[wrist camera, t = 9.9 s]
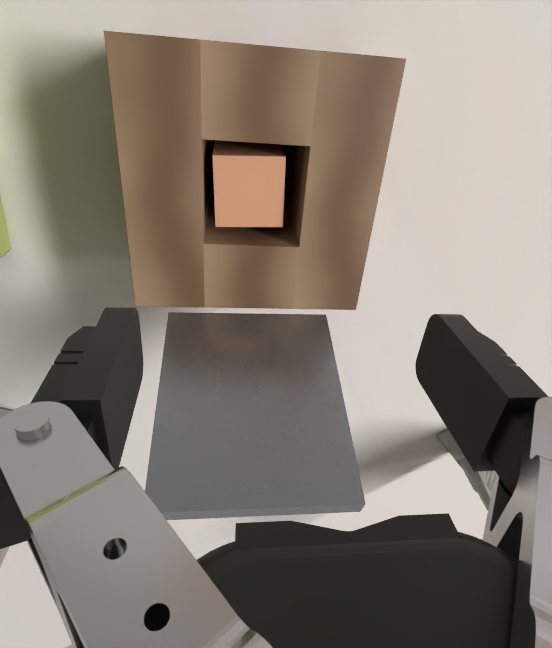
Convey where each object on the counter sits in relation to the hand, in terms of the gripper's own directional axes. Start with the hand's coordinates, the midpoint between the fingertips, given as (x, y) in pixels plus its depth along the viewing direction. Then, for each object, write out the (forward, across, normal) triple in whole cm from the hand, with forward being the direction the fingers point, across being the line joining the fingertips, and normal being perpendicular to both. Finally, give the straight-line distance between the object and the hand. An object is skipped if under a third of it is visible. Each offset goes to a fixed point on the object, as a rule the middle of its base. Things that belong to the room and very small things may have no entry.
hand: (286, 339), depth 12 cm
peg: (+22, 0, 0) cm, 22 cm away
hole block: (+22, 0, 0) cm, 22 cm away
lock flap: (+8, 0, +9) cm, 12 cm away
